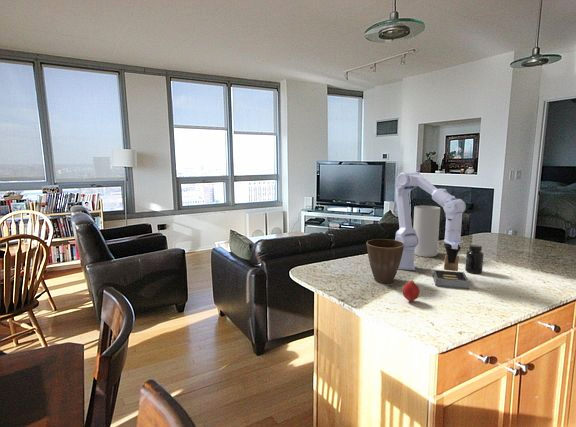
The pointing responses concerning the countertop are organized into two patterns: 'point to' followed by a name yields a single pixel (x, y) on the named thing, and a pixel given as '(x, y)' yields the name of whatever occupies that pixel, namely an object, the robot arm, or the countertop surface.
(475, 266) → the supplement bottle
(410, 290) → the onion
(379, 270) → the plant pot
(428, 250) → the cylinder vase
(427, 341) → the countertop surface
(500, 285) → the countertop surface
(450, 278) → the square metal tray
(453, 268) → the tan wooden brick
